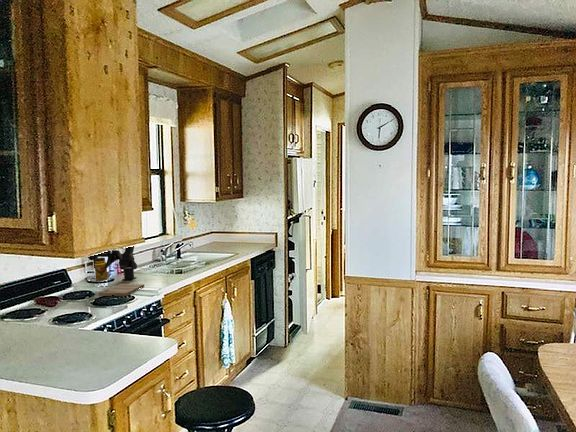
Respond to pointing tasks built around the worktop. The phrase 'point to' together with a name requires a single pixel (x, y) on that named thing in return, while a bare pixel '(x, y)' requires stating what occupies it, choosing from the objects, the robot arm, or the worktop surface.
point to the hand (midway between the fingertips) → (100, 268)
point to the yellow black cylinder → (100, 270)
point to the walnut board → (121, 290)
